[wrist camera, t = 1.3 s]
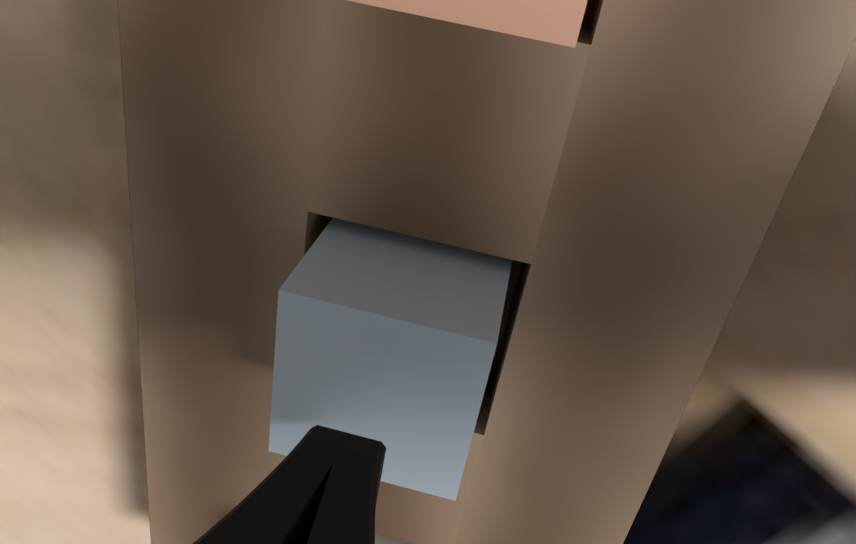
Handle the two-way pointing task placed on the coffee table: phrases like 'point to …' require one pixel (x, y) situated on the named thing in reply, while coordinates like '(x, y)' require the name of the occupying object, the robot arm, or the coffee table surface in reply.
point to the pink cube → (502, 15)
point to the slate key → (388, 348)
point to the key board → (460, 225)
